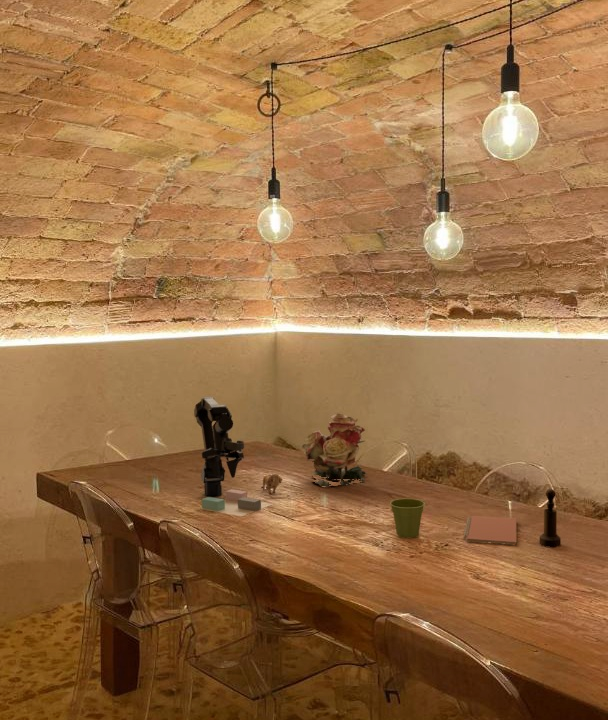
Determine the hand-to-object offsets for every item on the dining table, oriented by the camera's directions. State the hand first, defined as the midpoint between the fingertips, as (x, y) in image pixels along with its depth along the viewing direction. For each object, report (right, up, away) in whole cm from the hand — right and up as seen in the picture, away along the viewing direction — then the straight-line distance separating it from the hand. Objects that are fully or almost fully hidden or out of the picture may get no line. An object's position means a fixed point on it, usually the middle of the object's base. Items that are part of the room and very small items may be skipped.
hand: (225, 477), depth 290 cm
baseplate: (+4, -12, +4) cm, 14 cm away
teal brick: (-5, -12, +1) cm, 13 cm away
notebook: (+94, -15, -30) cm, 99 cm away
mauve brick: (+3, -11, +13) cm, 17 cm away
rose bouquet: (+44, -9, +45) cm, 64 cm away
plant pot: (+65, -15, -33) cm, 74 cm away
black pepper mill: (+109, -15, -44) cm, 119 cm away
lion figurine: (+16, -11, +26) cm, 32 cm away
